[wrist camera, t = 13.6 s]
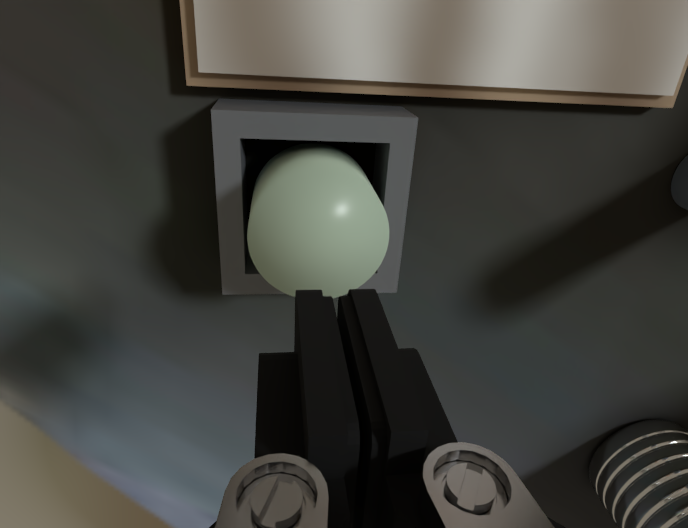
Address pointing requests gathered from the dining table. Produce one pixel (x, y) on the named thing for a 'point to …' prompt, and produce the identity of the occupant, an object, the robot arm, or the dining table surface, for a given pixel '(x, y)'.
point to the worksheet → (443, 48)
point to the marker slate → (680, 184)
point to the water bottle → (644, 475)
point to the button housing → (312, 125)
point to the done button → (316, 222)
